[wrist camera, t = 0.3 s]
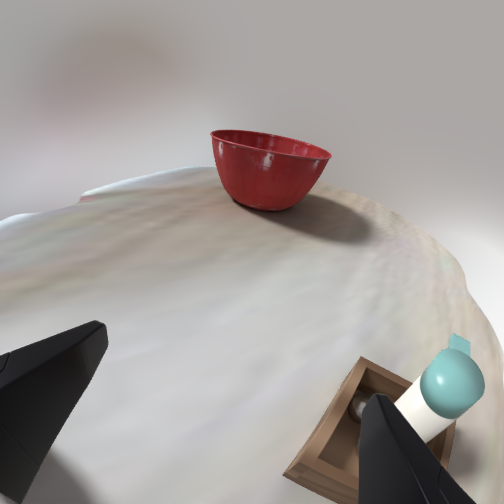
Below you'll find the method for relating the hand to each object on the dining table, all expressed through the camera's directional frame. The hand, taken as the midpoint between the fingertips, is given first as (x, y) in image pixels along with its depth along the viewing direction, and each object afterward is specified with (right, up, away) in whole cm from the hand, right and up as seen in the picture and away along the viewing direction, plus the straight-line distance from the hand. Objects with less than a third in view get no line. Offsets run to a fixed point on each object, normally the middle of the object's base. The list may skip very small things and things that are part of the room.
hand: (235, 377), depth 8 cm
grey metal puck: (+11, -12, +15) cm, 22 cm away
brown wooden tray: (+12, -15, +12) cm, 23 cm away
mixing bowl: (+2, +16, +62) cm, 64 cm away
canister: (+12, -14, +11) cm, 22 cm away
